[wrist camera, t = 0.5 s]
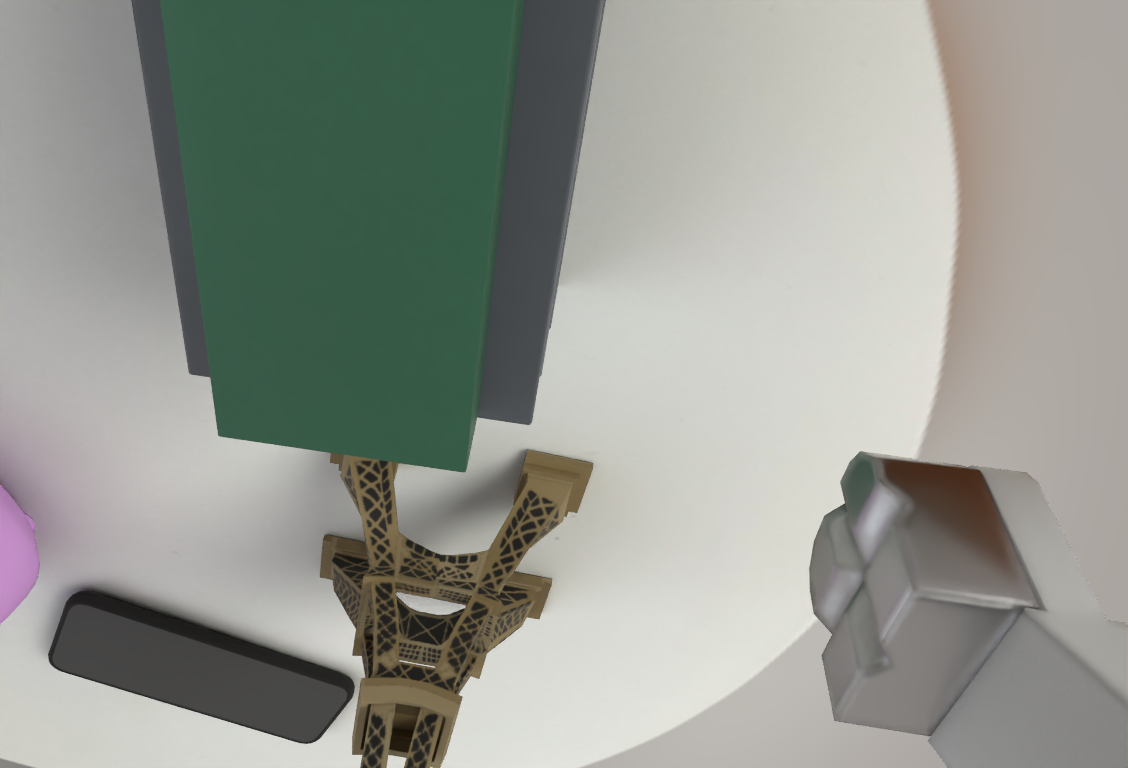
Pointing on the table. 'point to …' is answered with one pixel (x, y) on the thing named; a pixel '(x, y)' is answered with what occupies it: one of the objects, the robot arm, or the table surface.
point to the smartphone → (196, 668)
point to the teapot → (15, 555)
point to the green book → (345, 213)
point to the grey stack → (529, 205)
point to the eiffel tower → (449, 642)
